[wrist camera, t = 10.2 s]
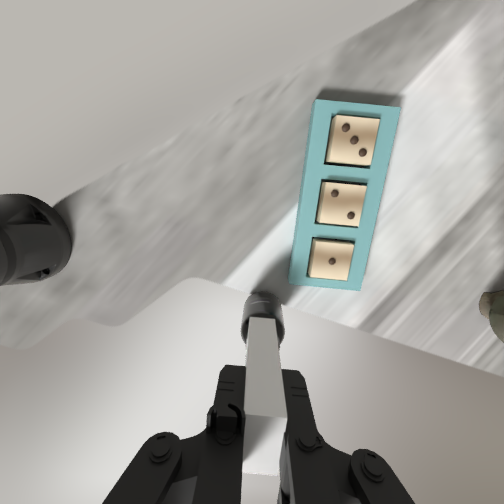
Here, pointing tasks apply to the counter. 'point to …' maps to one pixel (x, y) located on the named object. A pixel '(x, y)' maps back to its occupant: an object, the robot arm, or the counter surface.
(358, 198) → the key two
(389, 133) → the teal puzzle board
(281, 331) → the supplement bottle
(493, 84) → the counter surface
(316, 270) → the key one
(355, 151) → the key three
